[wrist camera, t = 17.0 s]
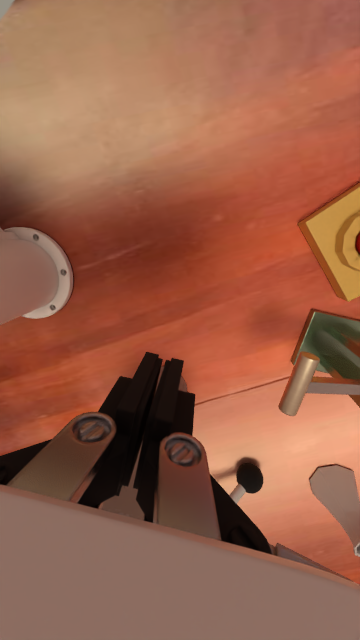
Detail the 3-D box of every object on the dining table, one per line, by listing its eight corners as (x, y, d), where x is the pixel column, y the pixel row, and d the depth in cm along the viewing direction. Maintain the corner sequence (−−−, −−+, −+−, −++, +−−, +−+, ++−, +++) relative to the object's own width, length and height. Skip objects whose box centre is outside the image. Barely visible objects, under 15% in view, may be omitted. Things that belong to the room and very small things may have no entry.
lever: (272, 401, 24) (288, 419, 22) (292, 348, 22) (312, 362, 20) (376, 403, 28) (398, 419, 25) (401, 358, 26) (427, 371, 24)
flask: (312, 461, 42) (343, 527, 32) (359, 465, 41) (405, 534, 32) (305, 494, 44) (332, 565, 35) (349, 499, 44) (389, 572, 34)
